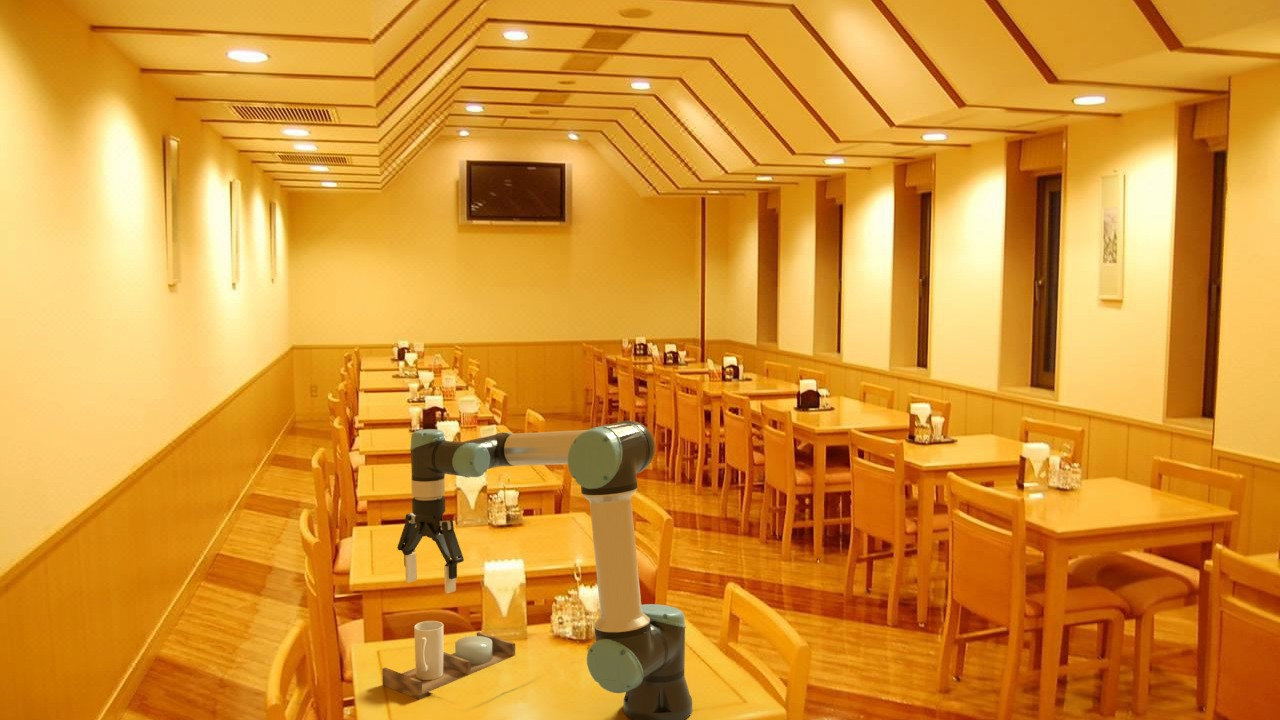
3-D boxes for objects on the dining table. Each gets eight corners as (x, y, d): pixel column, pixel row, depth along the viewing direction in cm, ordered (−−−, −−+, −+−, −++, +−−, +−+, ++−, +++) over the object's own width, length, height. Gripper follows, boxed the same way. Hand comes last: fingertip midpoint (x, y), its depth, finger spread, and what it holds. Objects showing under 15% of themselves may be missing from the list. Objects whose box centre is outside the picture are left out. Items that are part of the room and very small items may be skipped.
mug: (419, 669, 243) (418, 620, 242) (447, 670, 242) (446, 621, 241) (407, 686, 233) (406, 635, 232) (436, 687, 232) (435, 636, 231)
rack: (515, 659, 252) (515, 643, 251) (419, 699, 228) (419, 682, 227) (479, 647, 260) (478, 631, 259) (382, 685, 236) (382, 668, 235)
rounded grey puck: (500, 657, 250) (499, 641, 250) (473, 668, 243) (472, 652, 243) (474, 648, 256) (474, 633, 255) (447, 659, 249) (447, 643, 248)
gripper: (478, 500, 230) (479, 592, 231) (406, 487, 245) (408, 573, 246) (453, 507, 224) (455, 600, 225) (380, 492, 239) (383, 580, 241)
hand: (430, 586), depth 236 cm, fingers open, 13 cm apart
